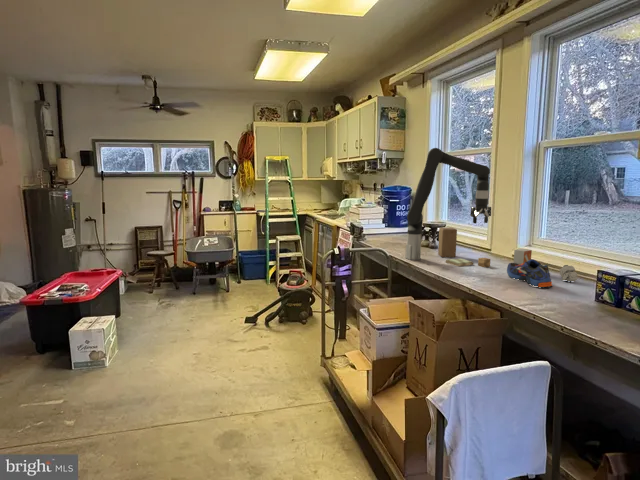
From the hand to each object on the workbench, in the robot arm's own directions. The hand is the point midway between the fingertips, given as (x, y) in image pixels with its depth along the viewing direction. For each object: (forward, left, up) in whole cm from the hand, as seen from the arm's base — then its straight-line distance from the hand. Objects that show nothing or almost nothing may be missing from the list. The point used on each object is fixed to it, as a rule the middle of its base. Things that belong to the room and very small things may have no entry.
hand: (480, 223), depth 265 cm
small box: (+8, -28, -26) cm, 39 cm away
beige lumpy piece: (+13, -55, -26) cm, 62 cm away
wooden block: (-5, +26, -26) cm, 37 cm away
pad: (-13, +2, -26) cm, 29 cm away
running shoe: (-6, -47, -26) cm, 55 cm away
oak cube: (-3, -9, -26) cm, 28 cm away
